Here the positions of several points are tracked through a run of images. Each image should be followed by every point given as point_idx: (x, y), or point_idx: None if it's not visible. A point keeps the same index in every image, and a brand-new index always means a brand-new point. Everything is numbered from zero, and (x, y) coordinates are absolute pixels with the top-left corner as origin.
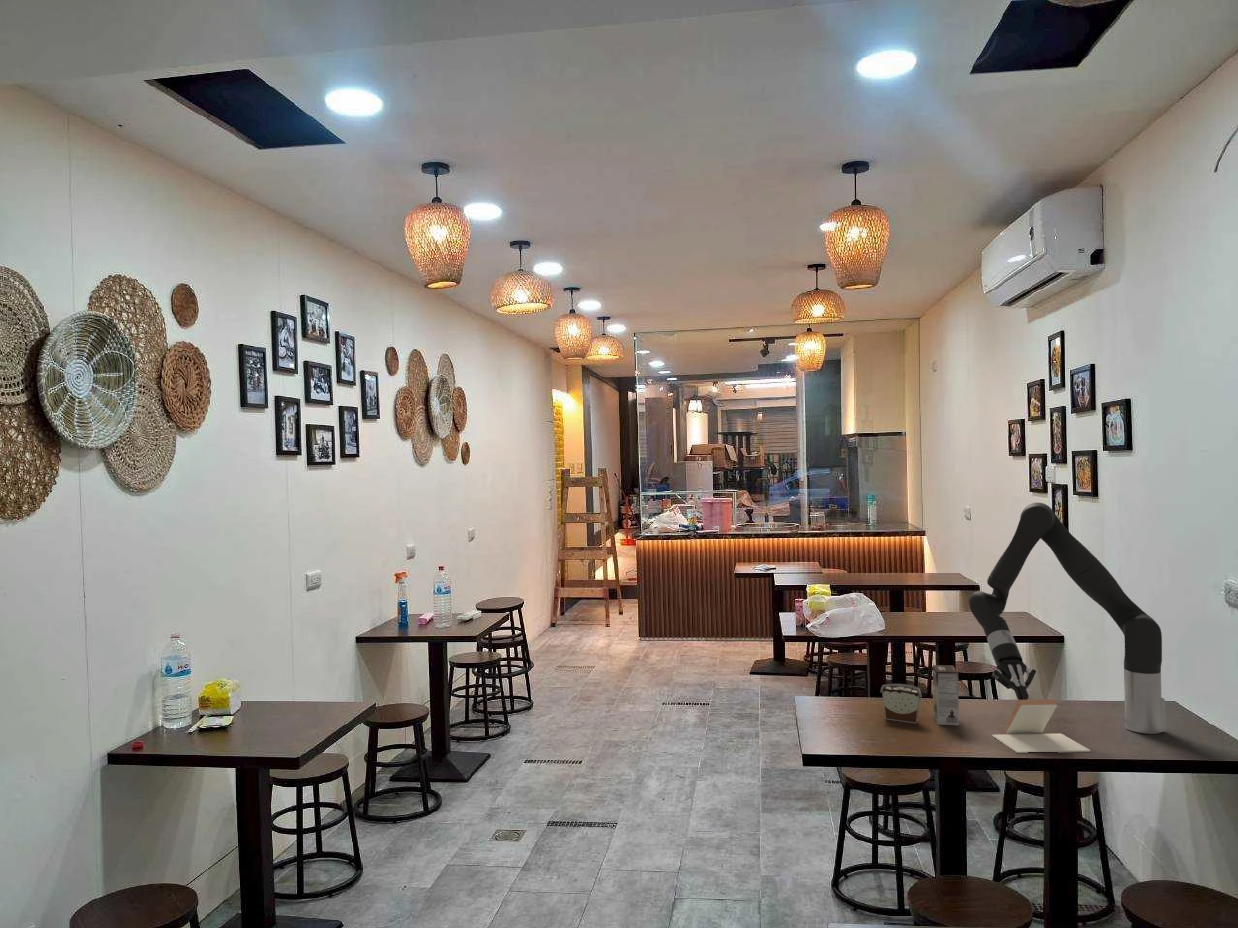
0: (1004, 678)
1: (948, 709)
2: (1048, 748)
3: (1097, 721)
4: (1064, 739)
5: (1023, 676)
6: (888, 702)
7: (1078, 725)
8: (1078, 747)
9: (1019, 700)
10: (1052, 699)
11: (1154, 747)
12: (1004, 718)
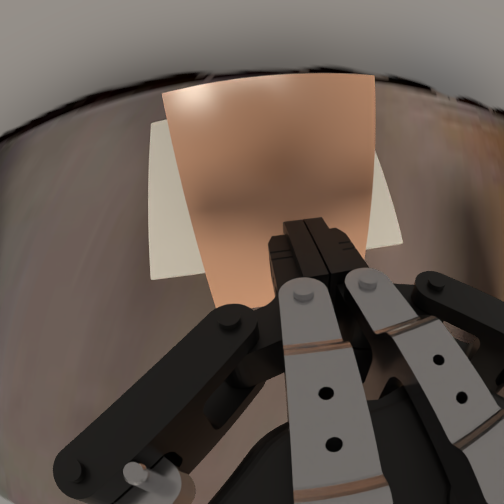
0: (495, 309)
1: None
2: None
3: (29, 408)
4: (170, 208)
5: (287, 366)
6: None
7: (71, 383)
8: (169, 138)
9: (369, 76)
10: (172, 91)
11: (16, 193)
12: None
